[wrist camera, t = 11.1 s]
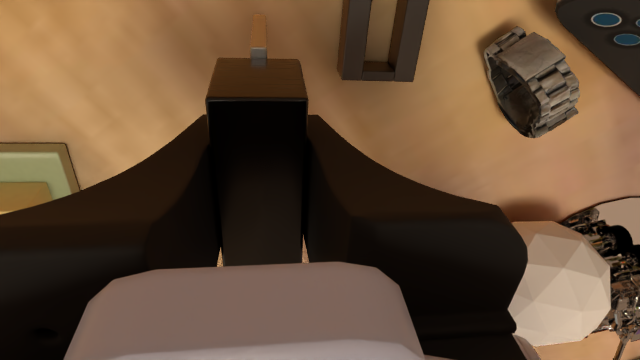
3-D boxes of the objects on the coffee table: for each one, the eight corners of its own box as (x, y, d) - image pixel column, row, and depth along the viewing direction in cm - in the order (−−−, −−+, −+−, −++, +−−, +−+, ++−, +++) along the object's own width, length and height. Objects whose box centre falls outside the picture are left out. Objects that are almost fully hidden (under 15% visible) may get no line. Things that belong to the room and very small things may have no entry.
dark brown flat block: (289, 165, 16) (301, 283, 11) (237, 165, 16) (224, 287, 11) (291, 15, 13) (309, 85, 8) (226, 13, 13) (202, 85, 8)
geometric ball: (440, 289, 31) (536, 374, 28) (460, 267, 23) (592, 379, 20) (503, 218, 32) (600, 291, 29) (540, 177, 25) (674, 268, 22)
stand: (404, 71, 21) (413, 82, 20) (336, 69, 21) (341, 80, 20) (434, -88, 18) (447, -87, 16) (351, -95, 17) (358, -95, 16)
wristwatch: (472, 77, 23) (528, 148, 22) (485, 31, 18) (558, 118, 17) (520, 45, 23) (580, 115, 22) (546, -10, 18) (625, 76, 17)
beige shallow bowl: (497, 348, 37) (529, 409, 33) (506, 226, 28) (551, 286, 24) (662, 310, 37) (717, 366, 32) (721, 175, 28) (808, 227, 24)
